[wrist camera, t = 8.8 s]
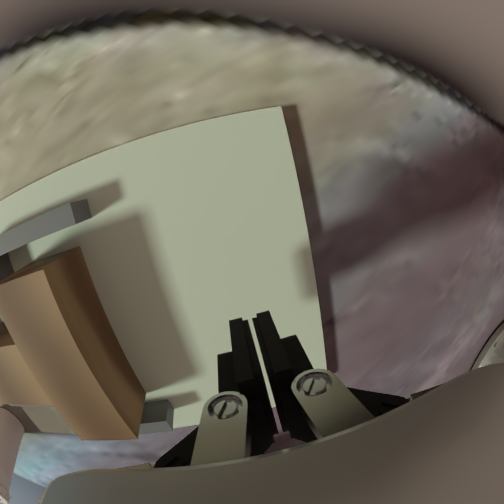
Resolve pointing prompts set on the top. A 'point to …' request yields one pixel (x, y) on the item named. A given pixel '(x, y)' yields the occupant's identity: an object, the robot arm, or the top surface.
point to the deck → (179, 252)
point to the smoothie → (8, 450)
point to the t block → (66, 350)
